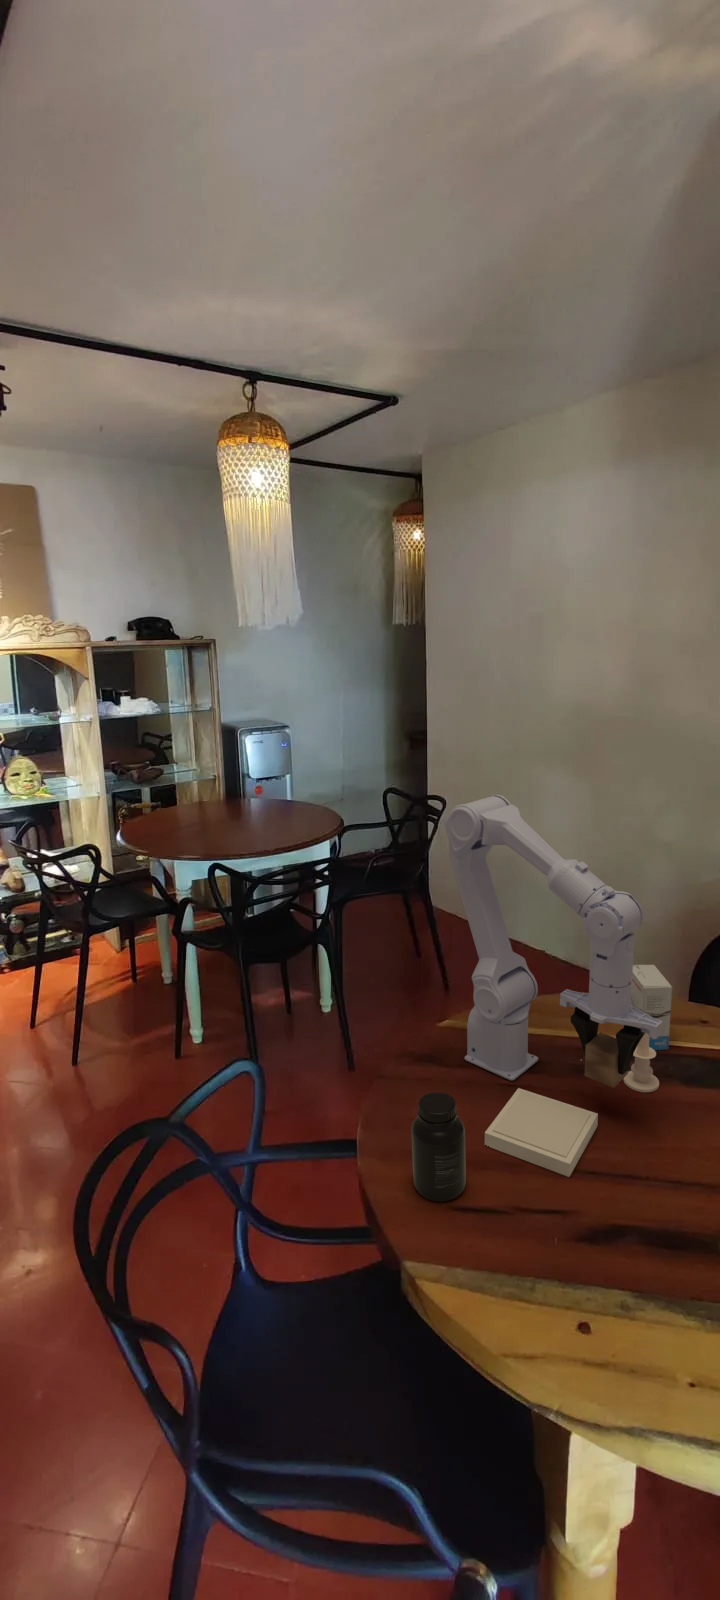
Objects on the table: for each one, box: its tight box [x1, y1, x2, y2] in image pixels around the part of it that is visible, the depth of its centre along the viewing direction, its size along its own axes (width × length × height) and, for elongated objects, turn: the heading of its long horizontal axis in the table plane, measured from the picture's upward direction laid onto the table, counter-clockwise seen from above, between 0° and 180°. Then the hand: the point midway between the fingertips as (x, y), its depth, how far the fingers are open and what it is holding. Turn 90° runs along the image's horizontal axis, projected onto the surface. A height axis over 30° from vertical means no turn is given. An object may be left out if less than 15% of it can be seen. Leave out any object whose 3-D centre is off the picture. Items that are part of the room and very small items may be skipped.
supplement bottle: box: [410, 1091, 467, 1202], centre depth 98 cm, size 7×7×12 cm
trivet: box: [484, 1087, 599, 1178], centre depth 107 cm, size 12×12×2 cm
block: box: [584, 1032, 629, 1089], centre depth 110 cm, size 4×4×5 cm
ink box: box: [631, 964, 673, 1051], centre depth 130 cm, size 8×5×12 cm, turn 179°
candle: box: [622, 1033, 660, 1093], centre depth 117 cm, size 5×5×10 cm
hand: (606, 1064), depth 111 cm, fingers closed on block, 4 cm apart
